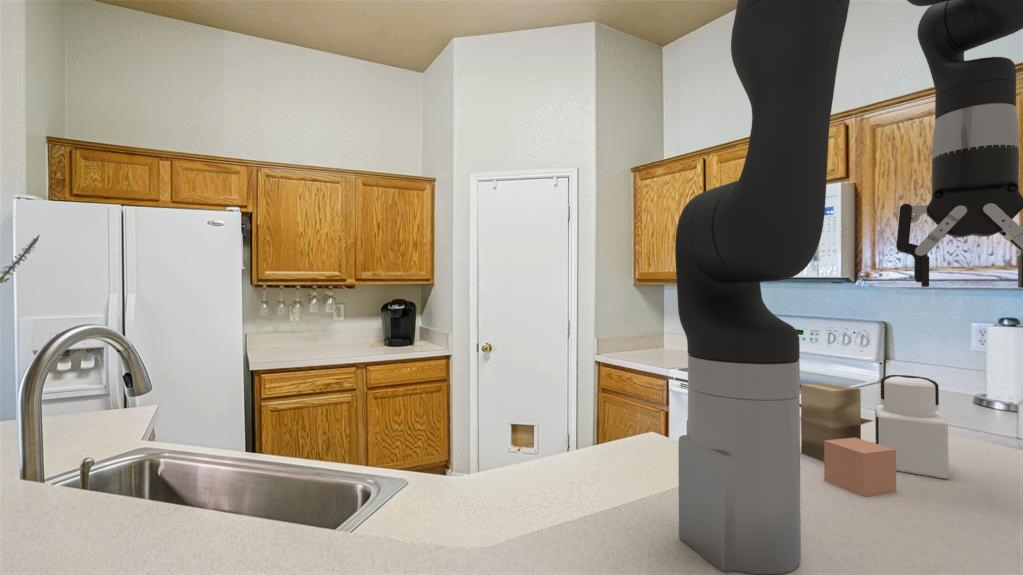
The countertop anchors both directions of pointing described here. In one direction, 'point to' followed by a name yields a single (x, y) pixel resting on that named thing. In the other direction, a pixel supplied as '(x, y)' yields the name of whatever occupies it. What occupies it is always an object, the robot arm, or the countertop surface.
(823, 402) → the tower top
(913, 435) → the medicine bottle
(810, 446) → the tower bottom
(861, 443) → the clay block
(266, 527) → the countertop surface
